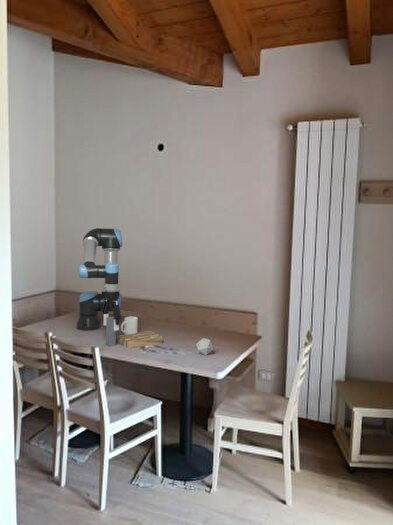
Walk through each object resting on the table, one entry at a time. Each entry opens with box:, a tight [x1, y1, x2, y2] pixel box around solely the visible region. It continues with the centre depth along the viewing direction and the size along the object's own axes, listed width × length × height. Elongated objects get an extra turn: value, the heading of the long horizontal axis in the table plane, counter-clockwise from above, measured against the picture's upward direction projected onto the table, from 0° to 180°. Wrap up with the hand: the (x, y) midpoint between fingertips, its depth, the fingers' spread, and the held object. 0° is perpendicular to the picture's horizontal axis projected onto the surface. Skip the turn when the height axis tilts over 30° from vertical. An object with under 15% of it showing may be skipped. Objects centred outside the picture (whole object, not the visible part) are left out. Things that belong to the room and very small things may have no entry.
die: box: [196, 337, 214, 356], centre depth 258 cm, size 8×9×10 cm
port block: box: [117, 330, 164, 349], centre depth 274 cm, size 14×22×4 cm, turn 126°
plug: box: [105, 316, 117, 347], centre depth 267 cm, size 4×4×16 cm
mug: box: [120, 316, 139, 335], centre depth 290 cm, size 12×8×10 cm
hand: (111, 327), depth 266 cm, fingers open, 13 cm apart
